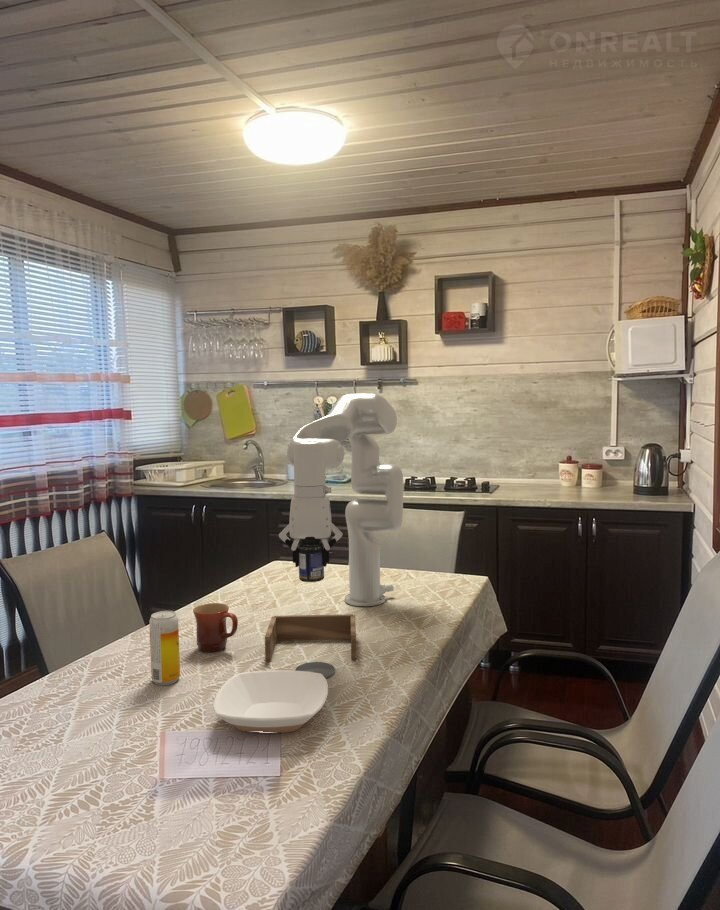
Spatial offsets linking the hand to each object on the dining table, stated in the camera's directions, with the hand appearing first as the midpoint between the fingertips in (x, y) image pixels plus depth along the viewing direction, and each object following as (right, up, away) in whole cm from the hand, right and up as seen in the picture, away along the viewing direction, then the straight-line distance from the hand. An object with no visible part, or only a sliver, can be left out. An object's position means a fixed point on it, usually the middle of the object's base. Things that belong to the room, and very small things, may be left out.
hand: (311, 564), depth 161 cm
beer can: (-31, -24, -14) cm, 42 cm away
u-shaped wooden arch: (0, -22, +4) cm, 22 cm away
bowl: (-5, -25, -32) cm, 41 cm away
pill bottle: (0, -4, 0) cm, 4 cm away
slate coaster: (+2, -23, -10) cm, 25 cm away
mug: (-24, -22, +4) cm, 33 cm away
